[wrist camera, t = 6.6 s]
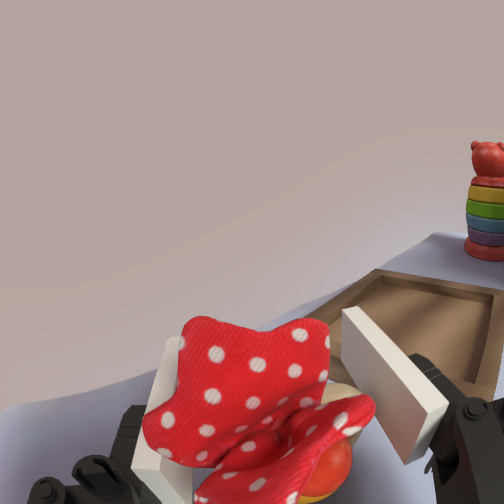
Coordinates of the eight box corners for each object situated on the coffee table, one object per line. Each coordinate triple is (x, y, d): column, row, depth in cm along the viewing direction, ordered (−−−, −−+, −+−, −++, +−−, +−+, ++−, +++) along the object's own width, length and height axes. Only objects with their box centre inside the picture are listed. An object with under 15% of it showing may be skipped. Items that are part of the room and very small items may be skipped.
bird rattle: (265, 473, 13) (121, 526, 6) (309, 293, 13) (108, 277, 7) (354, 521, 8) (216, 625, 2) (442, 321, 9) (336, 400, 2)
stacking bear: (520, 251, 31) (519, 145, 27) (510, 267, 27) (511, 138, 22) (471, 241, 41) (468, 143, 36) (453, 253, 36) (449, 139, 32)
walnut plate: (502, 311, 19) (507, 291, 18) (477, 431, 9) (491, 406, 9) (374, 286, 31) (375, 268, 30) (280, 356, 21) (278, 333, 21)
